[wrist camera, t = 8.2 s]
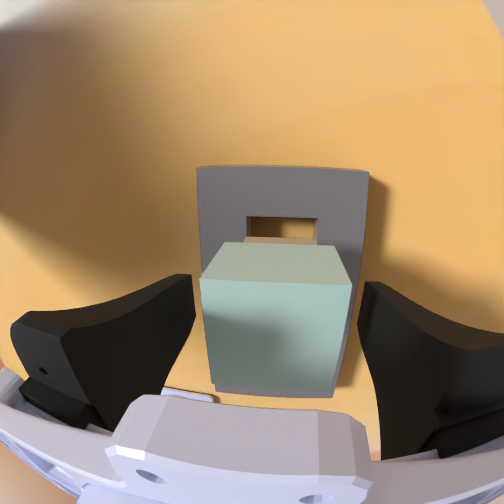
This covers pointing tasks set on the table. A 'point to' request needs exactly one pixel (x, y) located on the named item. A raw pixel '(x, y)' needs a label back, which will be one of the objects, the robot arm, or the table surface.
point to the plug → (275, 313)
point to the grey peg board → (285, 205)
